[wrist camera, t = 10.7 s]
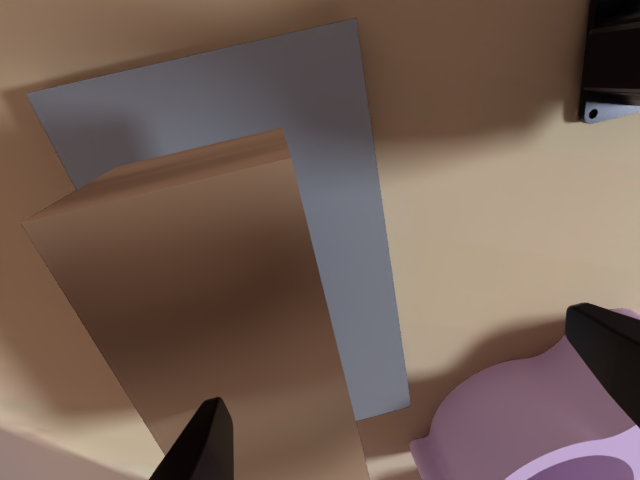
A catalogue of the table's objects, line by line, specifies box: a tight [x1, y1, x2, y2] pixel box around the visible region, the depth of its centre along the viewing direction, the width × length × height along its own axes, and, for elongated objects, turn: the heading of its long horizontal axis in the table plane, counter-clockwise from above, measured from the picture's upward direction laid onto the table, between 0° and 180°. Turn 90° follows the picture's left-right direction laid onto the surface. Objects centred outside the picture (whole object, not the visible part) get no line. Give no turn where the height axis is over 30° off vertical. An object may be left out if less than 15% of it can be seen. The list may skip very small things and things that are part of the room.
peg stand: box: [26, 18, 411, 421], centre depth 18 cm, size 14×24×6 cm, turn 12°
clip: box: [409, 308, 640, 480], centre depth 26 cm, size 20×12×7 cm, turn 132°
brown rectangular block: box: [20, 127, 370, 480], centre depth 13 cm, size 18×6×5 cm, turn 12°
